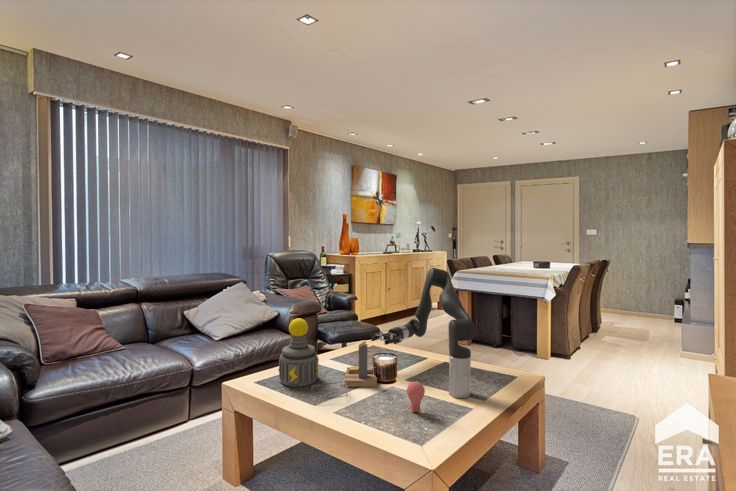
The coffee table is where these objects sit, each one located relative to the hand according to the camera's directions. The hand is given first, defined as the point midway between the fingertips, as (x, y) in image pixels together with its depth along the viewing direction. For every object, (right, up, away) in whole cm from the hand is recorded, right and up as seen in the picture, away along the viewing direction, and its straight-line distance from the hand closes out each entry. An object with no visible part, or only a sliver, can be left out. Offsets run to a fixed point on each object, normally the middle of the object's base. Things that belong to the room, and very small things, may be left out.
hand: (378, 340), depth 210 cm
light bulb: (+14, -20, -38) cm, 45 cm away
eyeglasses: (-22, -20, -22) cm, 37 cm away
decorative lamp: (-38, -18, -4) cm, 43 cm away
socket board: (-8, -18, -4) cm, 20 cm away
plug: (-7, -15, -8) cm, 19 cm away
